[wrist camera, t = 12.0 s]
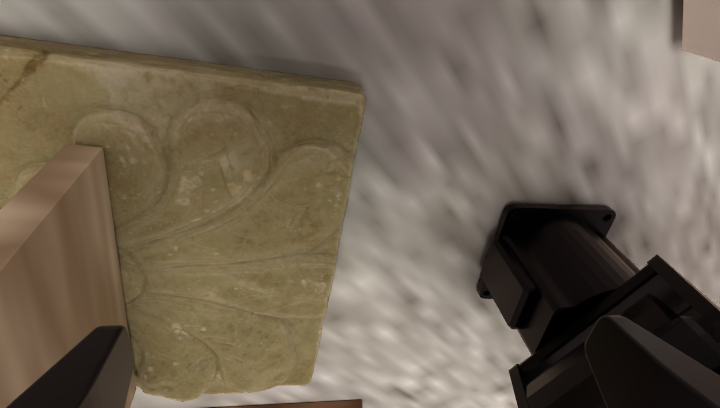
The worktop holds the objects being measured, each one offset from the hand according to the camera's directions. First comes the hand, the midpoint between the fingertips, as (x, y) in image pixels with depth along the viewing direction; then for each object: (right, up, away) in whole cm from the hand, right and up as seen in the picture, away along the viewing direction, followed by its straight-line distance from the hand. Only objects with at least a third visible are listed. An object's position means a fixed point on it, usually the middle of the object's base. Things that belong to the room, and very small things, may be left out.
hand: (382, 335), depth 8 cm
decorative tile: (-12, +1, +14) cm, 18 cm away
